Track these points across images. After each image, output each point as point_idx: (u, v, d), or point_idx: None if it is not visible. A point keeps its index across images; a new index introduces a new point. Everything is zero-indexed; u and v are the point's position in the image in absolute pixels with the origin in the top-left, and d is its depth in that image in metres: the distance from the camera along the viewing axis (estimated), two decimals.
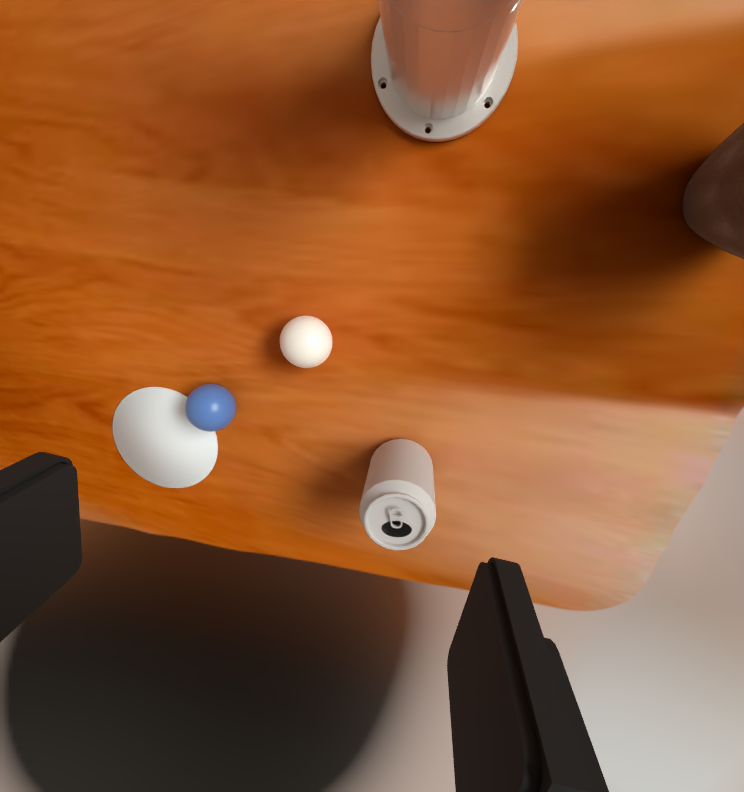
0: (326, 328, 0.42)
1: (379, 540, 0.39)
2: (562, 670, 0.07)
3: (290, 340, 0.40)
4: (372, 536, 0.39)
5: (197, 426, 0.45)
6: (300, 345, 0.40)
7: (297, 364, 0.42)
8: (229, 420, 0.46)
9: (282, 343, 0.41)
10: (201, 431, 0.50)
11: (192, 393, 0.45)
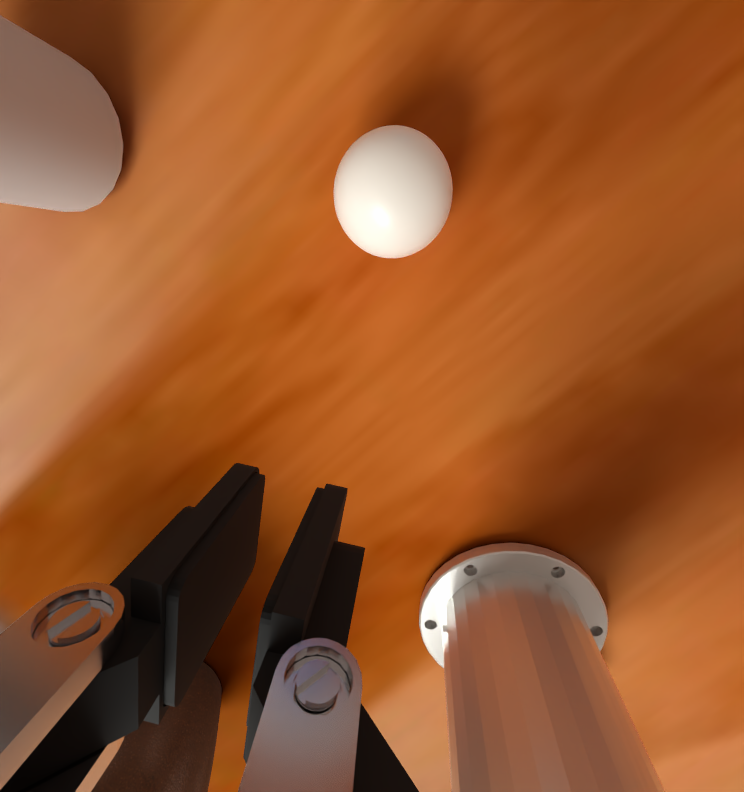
0: (380, 256, 0.19)
1: None
2: None
3: (414, 180, 0.16)
4: None
5: None
6: (388, 191, 0.16)
7: (366, 140, 0.17)
8: None
9: (426, 155, 0.16)
10: None
11: None
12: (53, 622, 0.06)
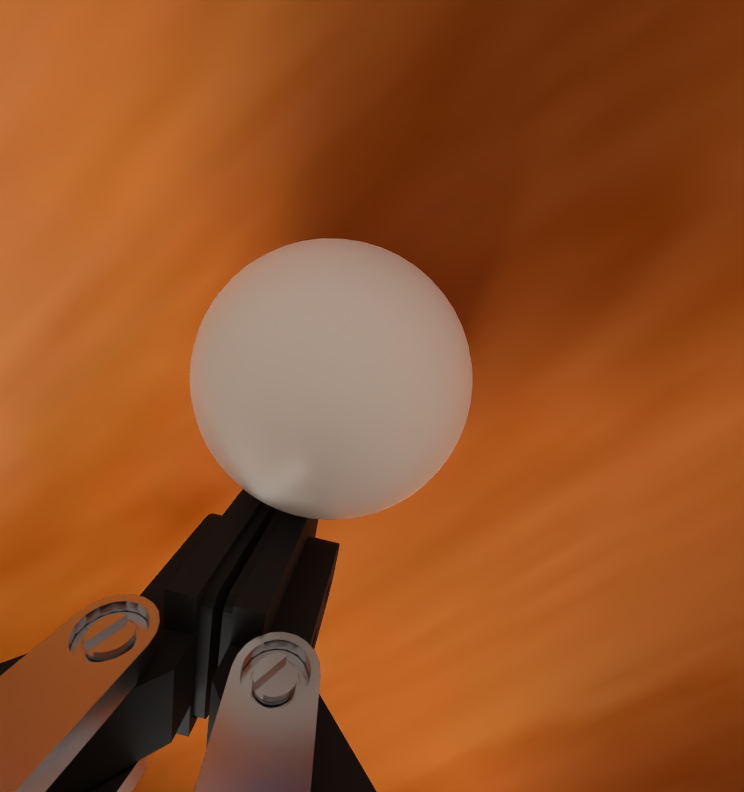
0: None
1: None
2: (333, 562, 0.08)
3: (369, 416, 0.06)
4: None
5: None
6: (296, 443, 0.06)
7: (247, 290, 0.06)
8: None
9: (405, 342, 0.06)
10: None
11: None
12: (90, 635, 0.05)
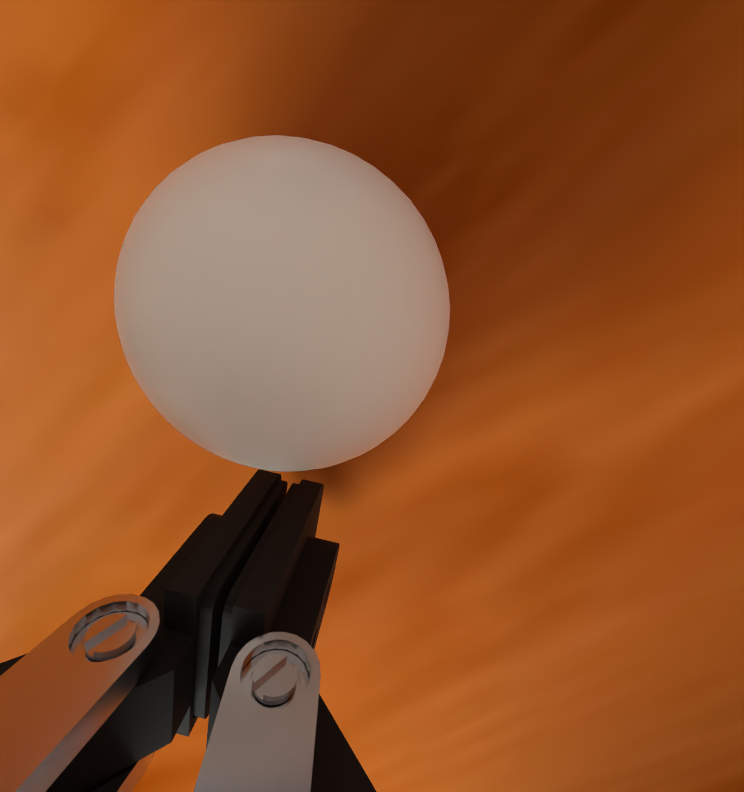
0: None
1: None
2: (334, 562, 0.08)
3: None
4: None
5: None
6: None
7: None
8: None
9: None
10: None
11: None
12: (90, 635, 0.05)
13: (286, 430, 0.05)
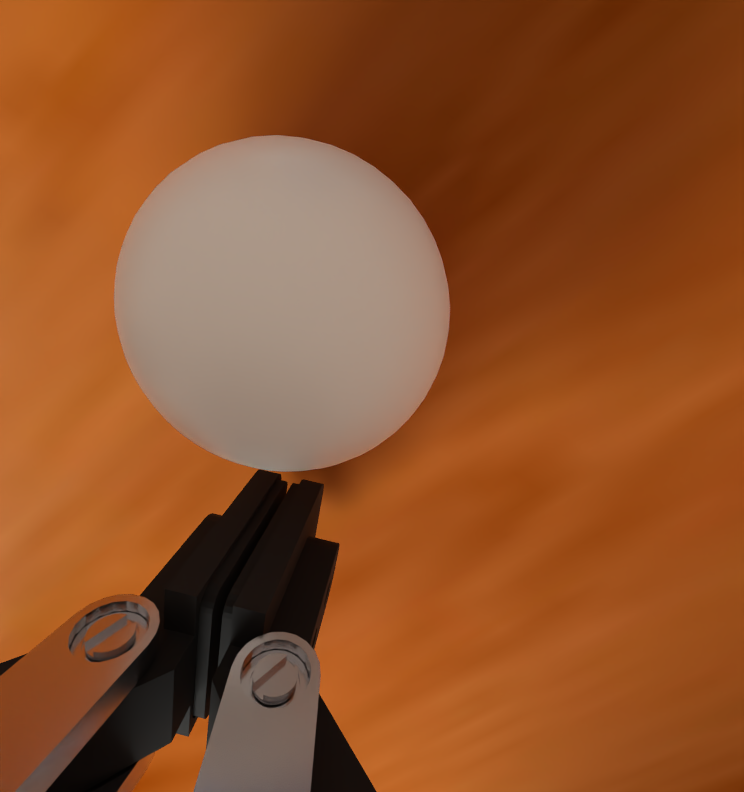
0: None
1: None
2: (334, 562, 0.08)
3: None
4: None
5: None
6: None
7: None
8: None
9: None
10: None
11: None
12: (90, 635, 0.05)
13: (286, 430, 0.05)
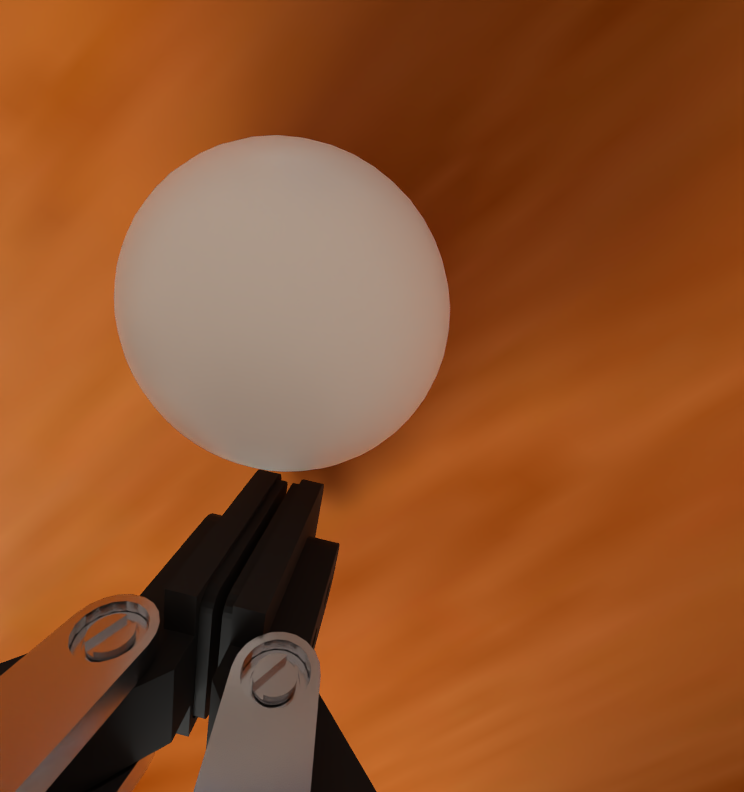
0: None
1: None
2: (334, 562, 0.08)
3: None
4: None
5: None
6: None
7: None
8: None
9: None
10: None
11: None
12: (90, 635, 0.05)
13: (286, 430, 0.05)
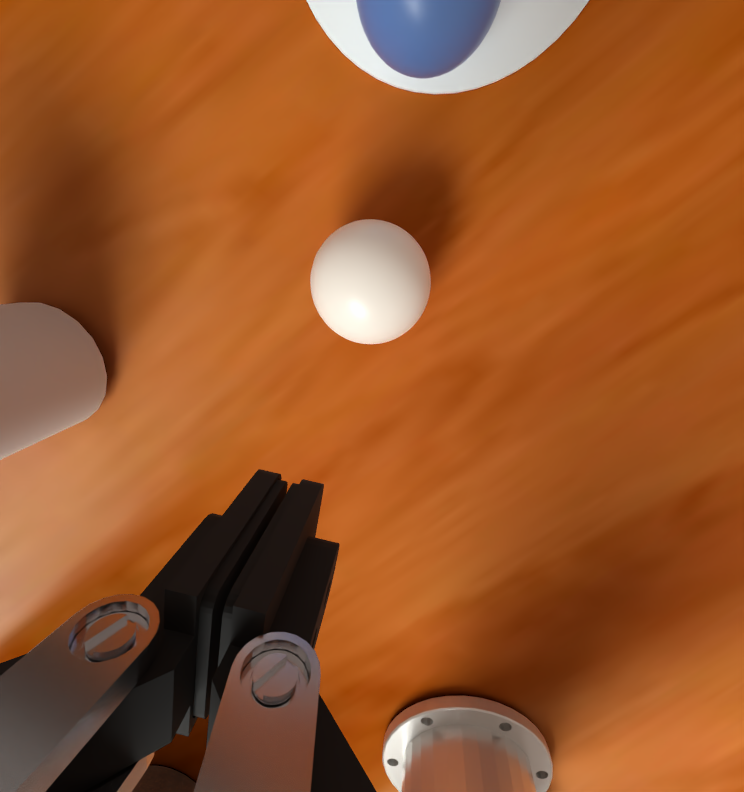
0: (379, 220, 0.17)
1: None
2: (333, 562, 0.08)
3: None
4: None
5: None
6: None
7: None
8: None
9: None
10: None
11: None
12: (90, 636, 0.05)
13: (377, 316, 0.17)
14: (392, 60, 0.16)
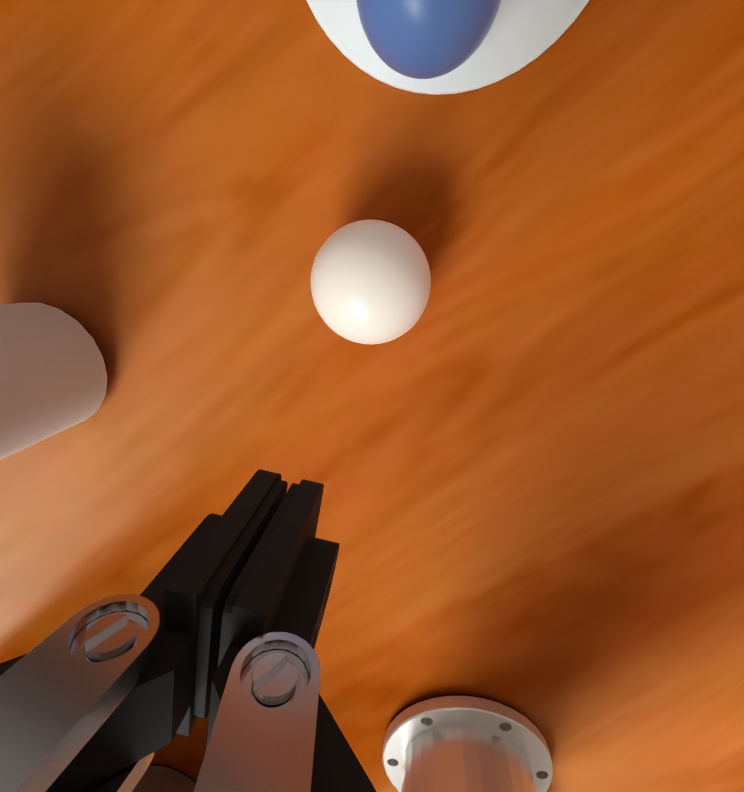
0: (379, 220, 0.17)
1: None
2: (334, 562, 0.08)
3: None
4: None
5: None
6: None
7: None
8: None
9: None
10: None
11: None
12: (90, 635, 0.05)
13: (377, 316, 0.17)
14: (392, 60, 0.16)
